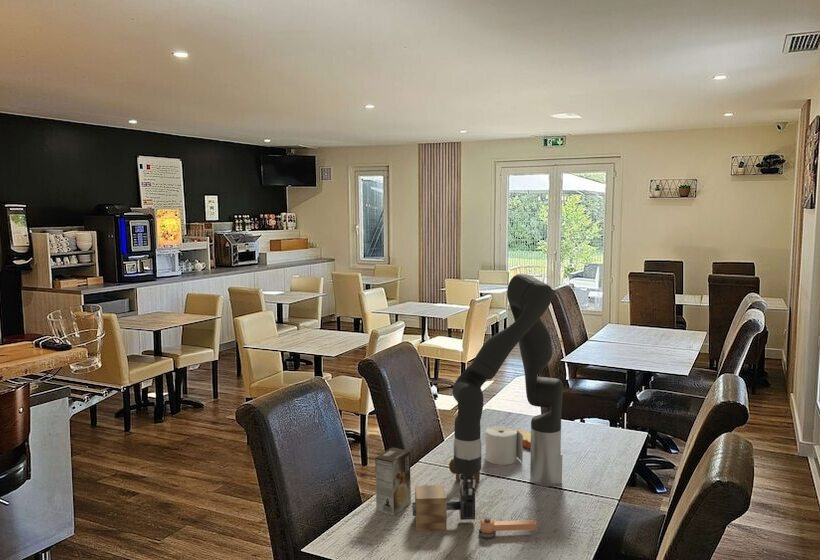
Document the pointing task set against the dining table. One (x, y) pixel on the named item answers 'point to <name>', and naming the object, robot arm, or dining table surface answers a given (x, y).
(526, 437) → the slice of bread
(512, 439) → the toilet tissue
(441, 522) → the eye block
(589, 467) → the dining table surface
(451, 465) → the mug
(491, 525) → the latch bar
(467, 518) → the dark grey hammer
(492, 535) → the dark grey puck
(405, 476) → the coffee box
